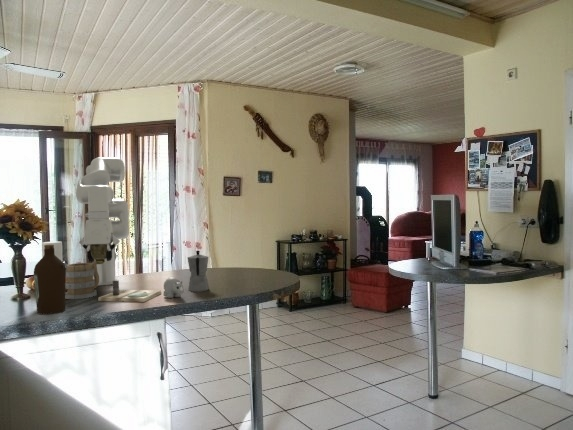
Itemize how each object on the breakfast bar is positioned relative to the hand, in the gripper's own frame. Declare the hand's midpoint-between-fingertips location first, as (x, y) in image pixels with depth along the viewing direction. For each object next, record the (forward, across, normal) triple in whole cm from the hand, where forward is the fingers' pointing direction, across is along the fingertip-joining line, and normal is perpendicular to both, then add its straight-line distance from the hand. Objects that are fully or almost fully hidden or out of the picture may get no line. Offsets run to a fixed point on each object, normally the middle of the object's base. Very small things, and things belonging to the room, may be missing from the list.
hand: (100, 260), depth 179 cm
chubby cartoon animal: (+18, +28, +6) cm, 34 cm away
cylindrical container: (+18, -19, 0) cm, 26 cm away
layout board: (+17, +9, +10) cm, 22 cm away
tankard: (+18, -13, +18) cm, 29 cm away
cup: (+2, 0, 0) cm, 2 cm away
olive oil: (+18, -14, -12) cm, 26 cm away
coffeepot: (+18, +35, +22) cm, 45 cm away
